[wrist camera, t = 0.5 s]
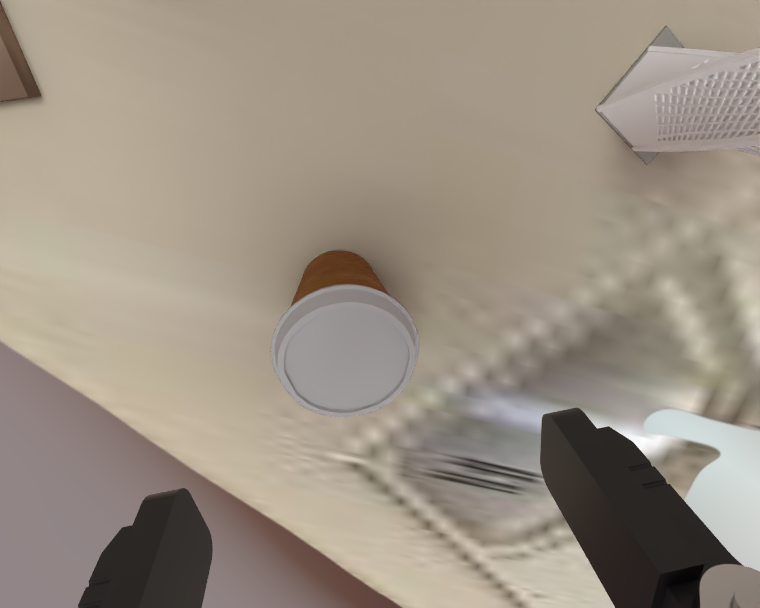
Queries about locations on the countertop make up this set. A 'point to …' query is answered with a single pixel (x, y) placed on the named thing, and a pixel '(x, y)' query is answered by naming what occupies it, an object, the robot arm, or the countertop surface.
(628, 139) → the skyscraper
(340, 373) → the disposable coffee cup
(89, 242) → the countertop surface
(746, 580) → the robot arm
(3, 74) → the post block
